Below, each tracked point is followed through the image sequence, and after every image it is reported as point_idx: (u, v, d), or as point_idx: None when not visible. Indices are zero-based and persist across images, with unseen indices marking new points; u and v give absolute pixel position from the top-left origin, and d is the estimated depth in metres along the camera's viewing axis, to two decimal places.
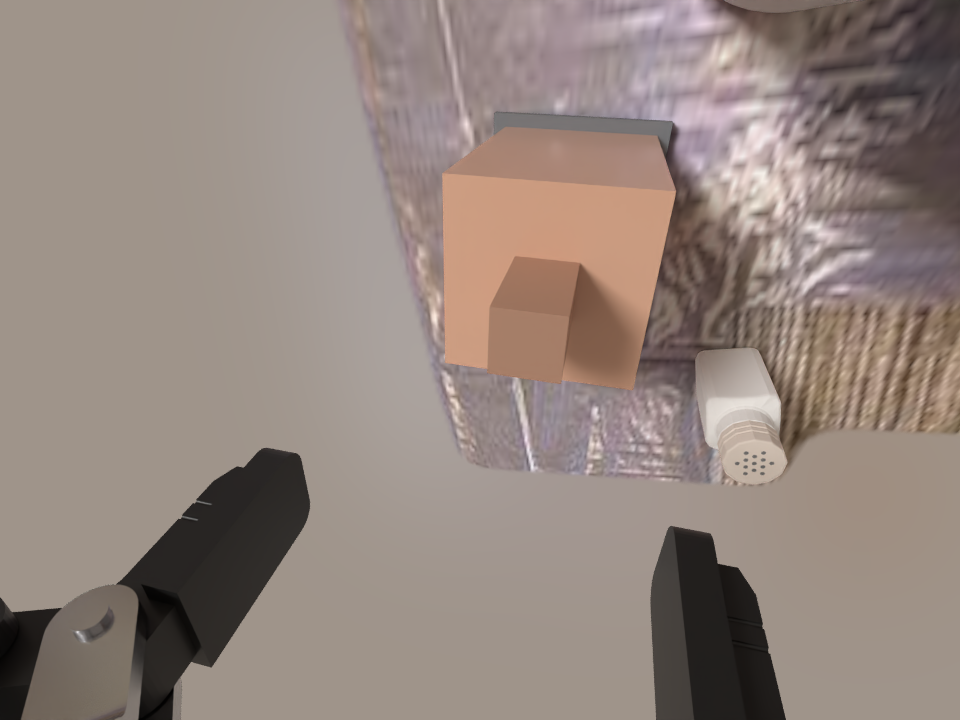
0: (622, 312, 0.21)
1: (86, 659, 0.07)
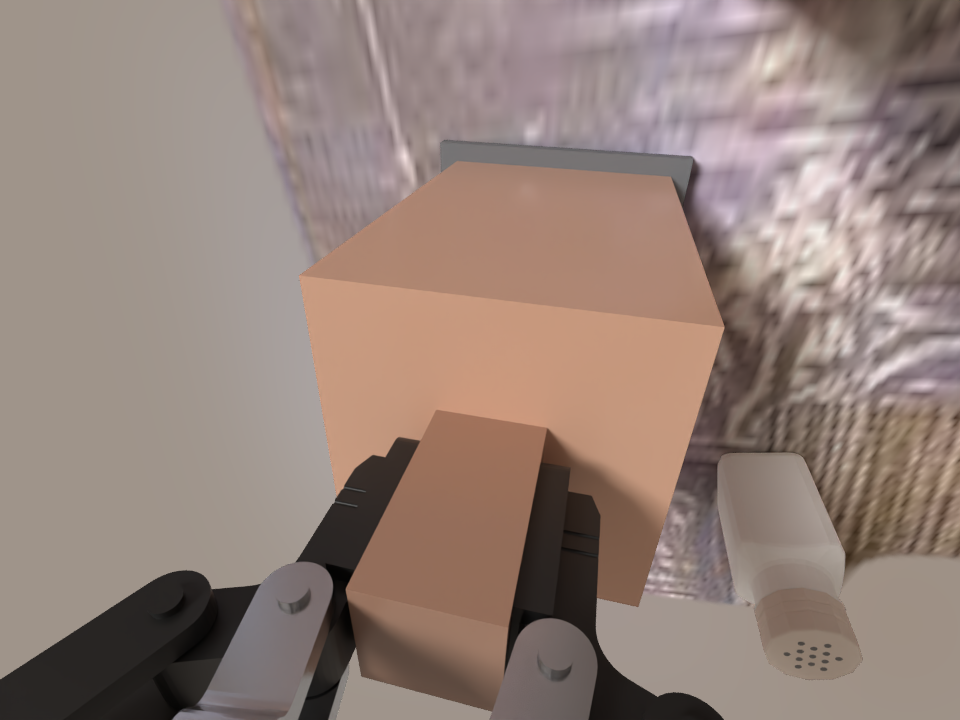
0: (621, 504, 0.12)
1: (277, 632, 0.08)
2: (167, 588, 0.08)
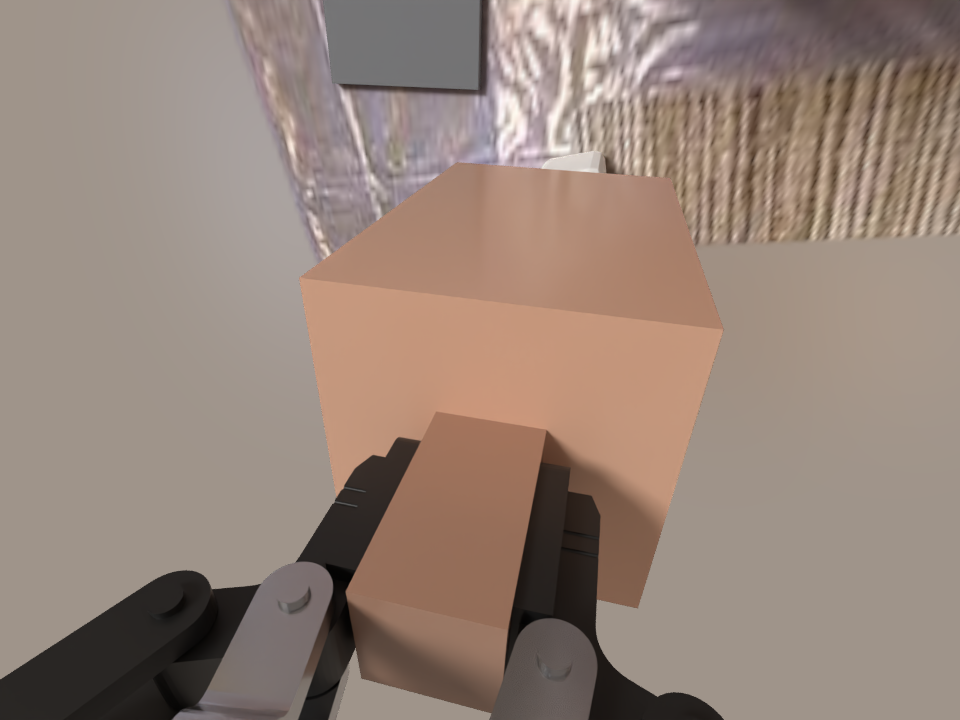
0: (620, 505, 0.12)
1: (277, 632, 0.08)
2: (166, 588, 0.08)
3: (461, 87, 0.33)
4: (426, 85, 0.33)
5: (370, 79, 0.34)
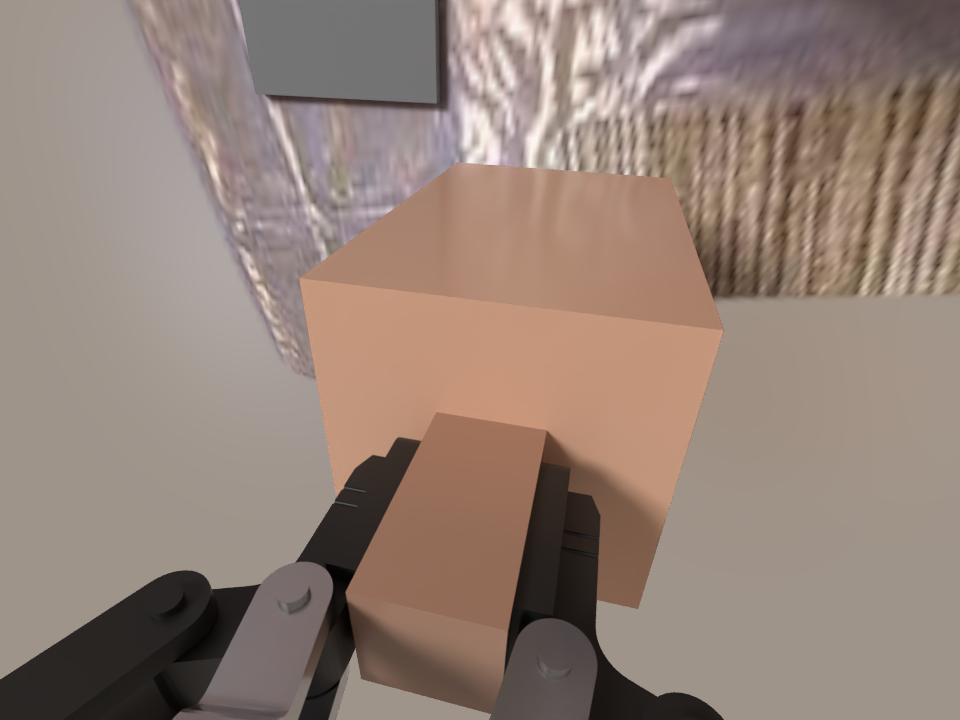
0: (621, 506, 0.12)
1: (278, 633, 0.08)
2: (167, 588, 0.08)
3: (415, 100, 0.26)
4: (371, 97, 0.26)
5: (302, 89, 0.27)
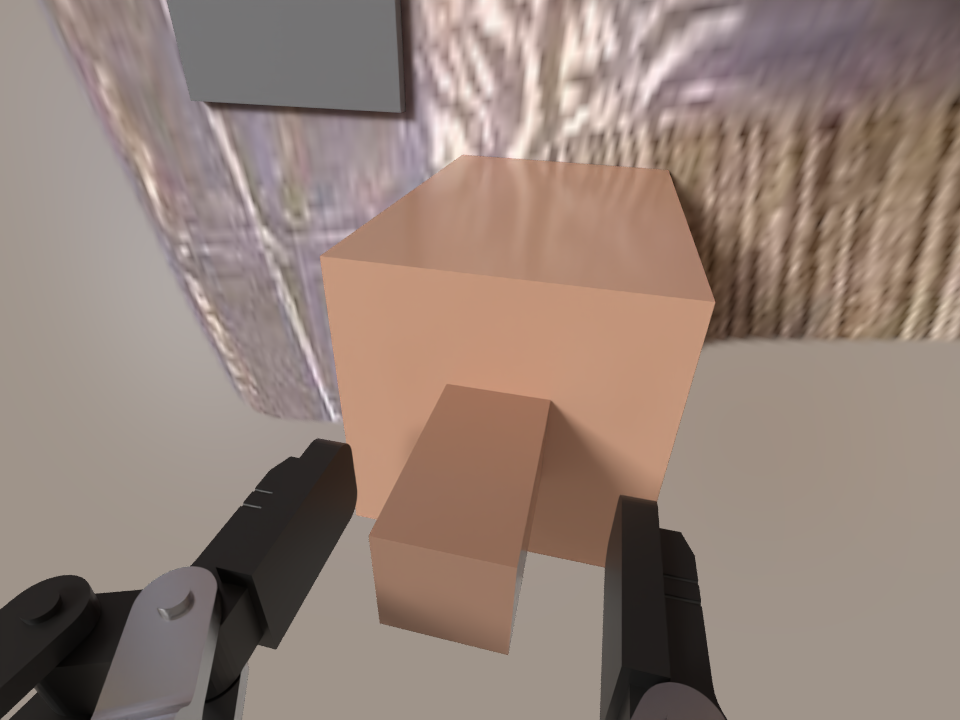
0: (619, 473, 0.13)
1: (165, 638, 0.08)
2: (39, 595, 0.08)
3: (375, 109, 0.22)
4: (324, 105, 0.22)
5: (243, 95, 0.23)
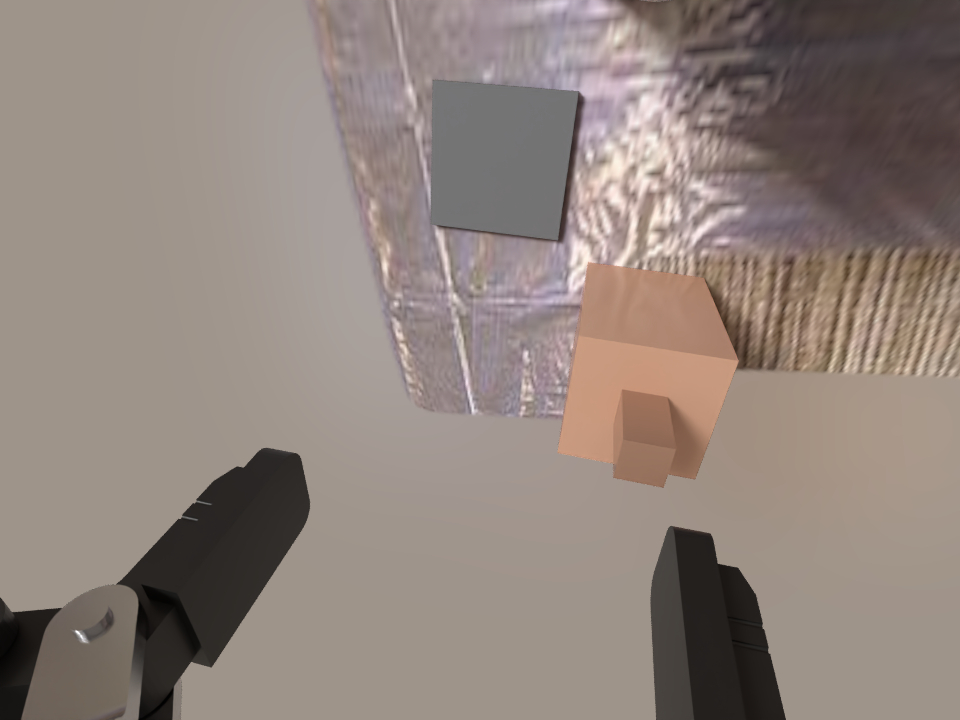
0: (693, 429, 0.31)
1: (86, 658, 0.07)
2: None
3: (543, 237, 0.39)
4: (513, 233, 0.40)
5: (464, 224, 0.40)
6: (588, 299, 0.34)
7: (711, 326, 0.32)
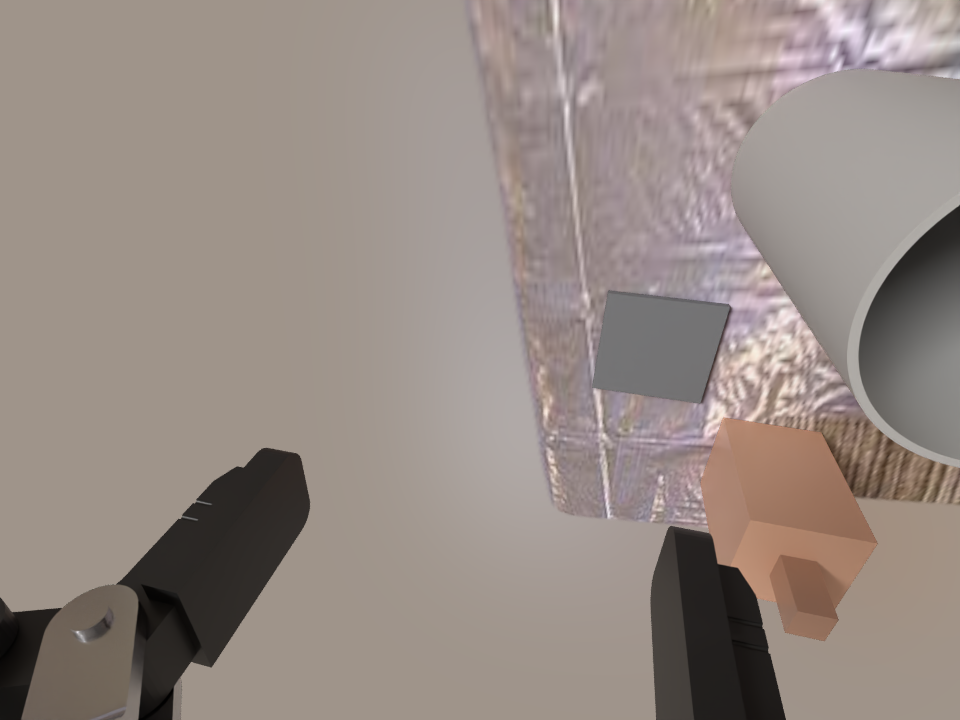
0: (835, 582, 0.40)
1: (86, 659, 0.07)
2: None
3: (688, 401, 0.49)
4: (662, 397, 0.49)
5: (621, 389, 0.50)
6: (741, 470, 0.43)
7: (845, 500, 0.41)
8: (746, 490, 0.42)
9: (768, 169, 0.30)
